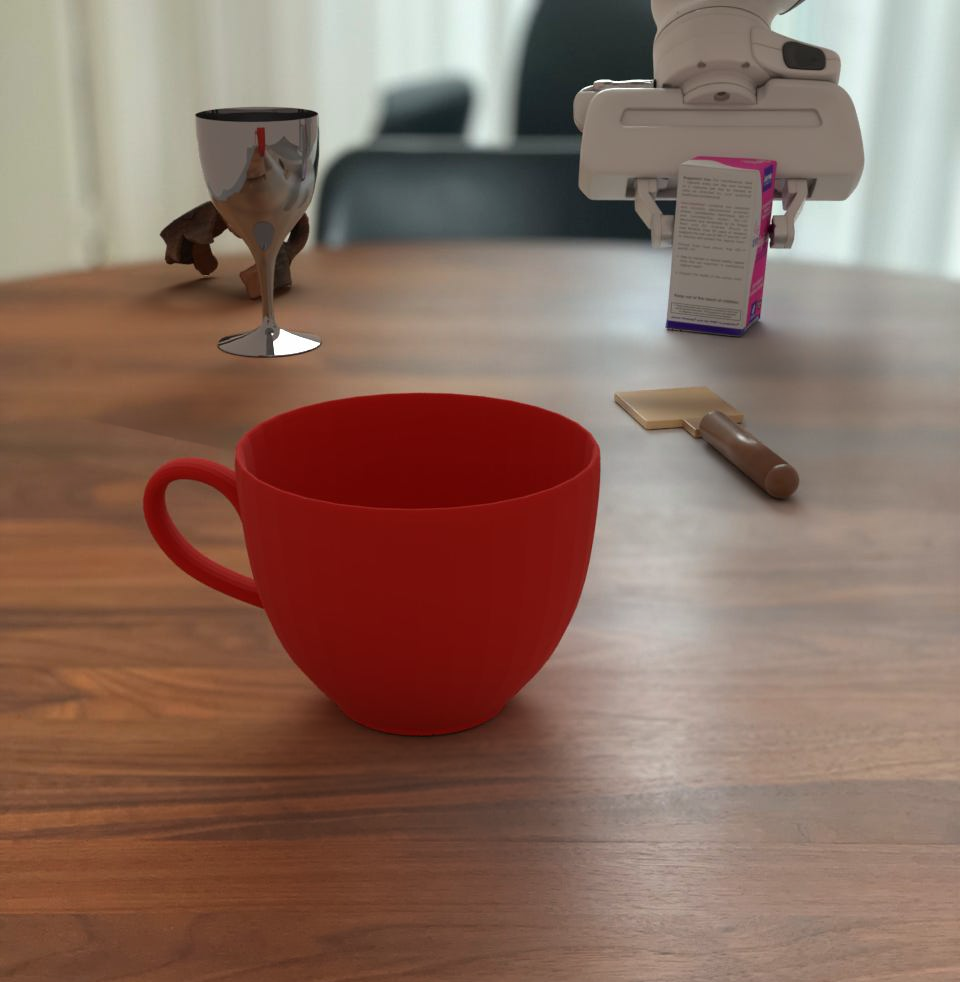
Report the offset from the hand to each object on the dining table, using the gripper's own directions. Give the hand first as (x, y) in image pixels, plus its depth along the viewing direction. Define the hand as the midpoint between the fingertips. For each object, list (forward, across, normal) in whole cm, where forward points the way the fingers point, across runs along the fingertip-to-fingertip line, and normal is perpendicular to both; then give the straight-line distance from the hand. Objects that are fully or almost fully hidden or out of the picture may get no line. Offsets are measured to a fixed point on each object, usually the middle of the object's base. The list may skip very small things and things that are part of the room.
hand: (723, 244), depth 105 cm
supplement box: (+4, 0, +5) cm, 6 cm away
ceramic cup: (+44, -21, -35) cm, 60 cm away
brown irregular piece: (-4, -36, +13) cm, 39 cm away
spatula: (+23, -4, -14) cm, 27 cm away
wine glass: (+8, -32, +1) cm, 33 cm away
